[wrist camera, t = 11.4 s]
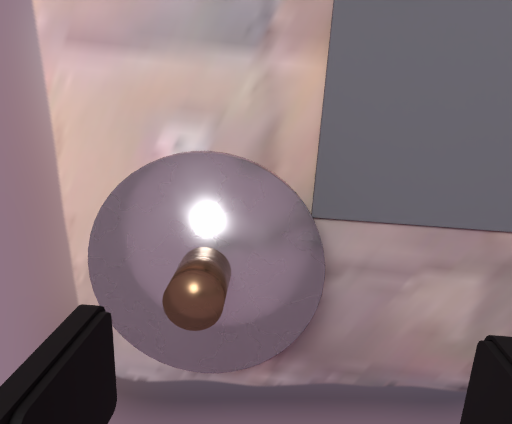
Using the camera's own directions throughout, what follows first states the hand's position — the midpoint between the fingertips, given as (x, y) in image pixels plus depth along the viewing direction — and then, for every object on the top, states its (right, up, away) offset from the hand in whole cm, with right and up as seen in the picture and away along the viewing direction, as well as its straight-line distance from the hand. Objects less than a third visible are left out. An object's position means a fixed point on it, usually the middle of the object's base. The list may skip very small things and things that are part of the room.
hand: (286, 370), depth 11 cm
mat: (+13, +11, +21) cm, 27 cm away
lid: (-4, 0, +18) cm, 19 cm away
